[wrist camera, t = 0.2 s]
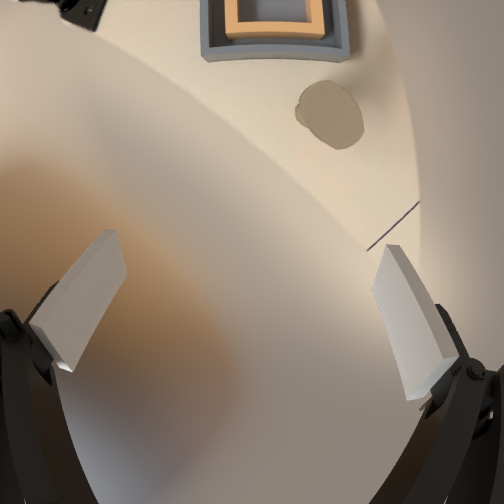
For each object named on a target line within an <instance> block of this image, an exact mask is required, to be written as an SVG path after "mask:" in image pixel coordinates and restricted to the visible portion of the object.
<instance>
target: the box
mask: <svg viewBox="0 0 504 504" xmlns="http://www.w3.org/2000/svg"><path fill="white" fill-rule="evenodd" d="M200 41H201V56H202V57H203V58H204V59H205V60H206V61H207V62H218V61H230V60H247V59H298V60H315V61H327V62H336V63H340V62H342V61H344V60H346V59H348V58H350V43H349V30H348V19H347V10H346V2H345V0H200Z"/></svg>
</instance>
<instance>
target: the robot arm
mask: <svg viewBox="0 0 504 504" xmlns="http://www.w3.org/2000/svg"><path fill="white" fill-rule="evenodd" d="M127 274H128V273H127V269H126V266H125V262H124V259H123V255H122V251H121V247H120V243H119V240H118V236H117V231H116V230H104V231H103V232H102V233H101V234H100V235H99V236H98V237H97V238H96V239H95V240H94V241H93V243H92V244H91V245H90V246H89V247H88V248H87V249H86V251H84V253H83V254H82V255H81V256H80V257H79V258H78V259H77V261H76V262H75V263H74V264H73V266H72V267H71V268H70V269H69V270H68V271H67V273H66V274H65V275H64V276H63V278H62V279H61V280H60V281H57V282H56V283H55V284H54V285H52V286H51V287H50V288H49V290H48V291H47V292H46V293H45V295H44V296H43V297H42V298H41V300H40V303H38V304H37V305H36V307H35V308H34V309H33V311H32V312H31V313H30V315H29V316H28V318H27V319H26V321H25V322H24V323H23V324H22V323H21V321H20V320H19V318H18V316H17V315H16V313H15V312H14V311H13V310H11V309H7V310H4V311H2V312H0V504H25V502H26V504H98V502H97V500H96V498H95V496H94V494H93V492H92V490H91V487H90V485H89V483H88V481H87V478H86V476H85V474H84V471H83V469H82V467H81V464H80V461H79V459H78V456H77V453H76V451H75V448H74V445H73V442H72V439H71V436H70V433H69V430H68V426H67V423H66V420H65V416H64V412H63V409H62V405H61V401H60V396H59V392H58V387H57V383H56V378H55V372H54V369H53V366H52V365H51V363H52V361H53V360H55V362H56V363H57V364H58V366H59V367H60V368H62V369H65V370H68V371H71V372H73V371H74V369H75V367H76V365H77V362H78V361H79V359H80V357H81V355H82V353H83V350H84V349H85V347H86V345H87V343H88V341H89V340H90V338H91V336H92V334H93V332H94V330H95V329H96V327H97V325H98V323H99V321H100V320H101V318H102V316H103V314H104V313H105V311H106V309H107V307H108V306H109V304H110V302H111V300H112V299H113V297H114V296H115V294H116V292H117V291H118V289H119V287H120V286H121V284H122V283H123V281H124V279H125V278H126V276H127ZM372 291H373V294H374V297H375V300H376V302H377V305H378V308H379V310H380V313H381V316H382V319H383V322H384V325H385V328H386V331H387V333H388V336H389V339H390V343H391V346H392V349H393V352H394V355H395V358H396V362H397V365H398V369H399V372H400V375H401V379H402V383H403V387H404V390H405V394H406V398H407V400H412V399H417V398H422V397H424V396H425V395H426V394H427V393H428V391H429V390H431V394H432V397H431V398H430V399H429V400H428V401H427V402H426V403H425V404H424V405H423V406H422V407H421V408H420V411H422V410H423V409H424V408H425V410H424V412H423V414H422V416H421V418H420V420H419V423H418V425H417V427H416V429H415V431H414V433H413V435H412V436H411V438H410V440H409V442H408V444H407V446H406V447H405V449H404V451H403V453H402V455H401V456H400V458H399V460H398V461H397V463H396V465H395V466H394V468H393V469H392V471H391V473H390V474H389V476H388V477H387V479H386V480H385V482H384V483H383V485H382V486H381V488H380V489H379V490H378V492H377V493H376V494H375V496H374V497H373V499H372V500H371V501H370V503H369V504H444V502H445V500H446V498H447V500H446V503H445V504H504V365H503V366H502V367H501V368H500V369H499V370H498V371H497V372H495V371H489V370H486V369H485V367H484V366H483V364H482V363H481V362H480V361H478V360H477V359H474V358H470V357H469V355H468V353H467V351H466V348H465V346H464V344H463V342H462V340H461V338H460V336H459V334H458V332H457V331H456V328H455V326H454V324H453V323H452V320H451V318H450V316H449V314H448V313H447V311H446V310H445V309H444V308H443V307H442V306H441V305H440V304H434V303H433V301H432V299H431V297H430V295H429V293H428V292H427V290H426V288H425V286H424V285H423V283H422V281H421V279H420V278H419V276H418V274H417V273H416V271H415V269H414V268H413V266H412V264H411V263H410V261H409V259H408V258H407V256H406V255H405V253H404V252H403V250H402V248H401V247H400V245H388V244H386V246H385V250H384V253H383V256H382V259H381V262H380V265H379V268H378V272H377V274H376V277H375V280H374V283H373V286H372ZM492 411H493V418H492V419H490V413H491V412H492ZM447 496H448V497H447ZM24 499H25V501H24Z"/></svg>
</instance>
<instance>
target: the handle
mask: <svg viewBox="0 0 504 504" xmlns="http://www.w3.org/2000/svg"><path fill="white" fill-rule="evenodd" d="M295 116H296V119H297V121H298V122H299V123H300V124H302V125H303V126H305V127H307V128H309V129H310V131H311V132H312V133H313V134H314V136H315V137H316V138H318V139H319V140H321V141H322V142H324V143H326V144H327V145H329V146H331V147H333V148H334V149H345V148H348V147H350V146H352V145H354V144H355V143H356V142H358V140H359V139H360V138H361V137H362V135H363V132H364V125H363V119H362V115H361V111H360V109H359V107H358V106H357V104H356V103H355V101H354V100H353V98H352V97H351V96H350V94H349V93H348V92H347V91H345V90H344V89H343V88H341V87H340V86H338V85H336V84H335V83H333V82H331V81H320V82H317V83H315V84H313V85H311V86H309V87H308V88H307V89H305V90H304V92H303V93H302V94H301V96H300V99H299V104H298V105H297V106H296V107H295Z"/></svg>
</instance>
